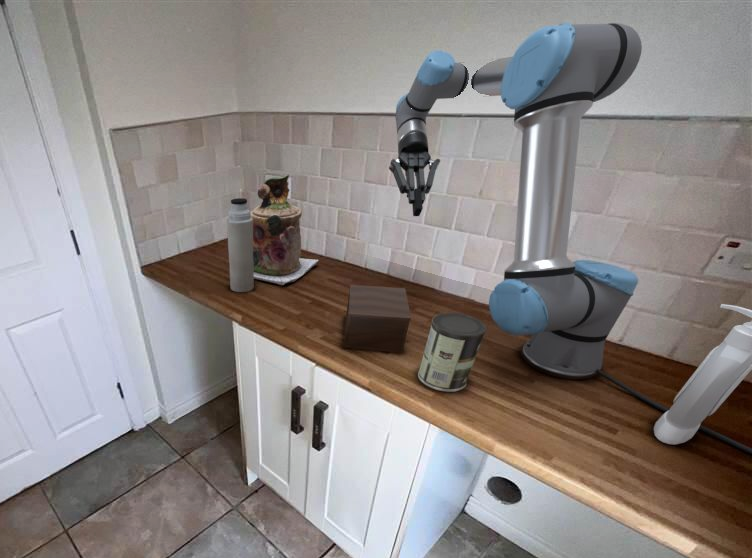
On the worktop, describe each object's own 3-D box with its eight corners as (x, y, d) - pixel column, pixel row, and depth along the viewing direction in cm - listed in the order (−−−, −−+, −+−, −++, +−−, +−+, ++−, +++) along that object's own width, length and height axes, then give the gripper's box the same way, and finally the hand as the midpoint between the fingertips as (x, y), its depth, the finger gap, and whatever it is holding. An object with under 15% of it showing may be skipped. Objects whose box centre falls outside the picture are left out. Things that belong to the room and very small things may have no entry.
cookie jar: (264, 255, 163) (264, 166, 144) (319, 265, 152) (327, 170, 132) (228, 275, 147) (223, 178, 128) (288, 288, 135) (292, 184, 116)
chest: (401, 353, 101) (410, 319, 95) (343, 347, 104) (348, 314, 98) (397, 322, 114) (404, 291, 108) (345, 318, 117) (349, 287, 111)
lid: (410, 321, 95) (411, 318, 94) (348, 316, 98) (348, 313, 97) (404, 290, 108) (405, 288, 108) (349, 287, 111) (350, 284, 111)
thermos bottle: (248, 281, 142) (246, 195, 125) (257, 289, 135) (256, 200, 119) (227, 285, 139) (222, 198, 123) (235, 293, 133) (231, 203, 117)
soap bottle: (650, 404, 82) (733, 292, 68) (701, 425, 77) (803, 308, 62) (625, 430, 76) (709, 314, 62) (678, 454, 71) (784, 334, 57)
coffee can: (460, 367, 95) (479, 313, 86) (471, 394, 87) (493, 337, 78) (414, 364, 97) (428, 310, 88) (420, 389, 89) (437, 333, 80)
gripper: (432, 155, 114) (438, 222, 106) (384, 155, 115) (387, 222, 107) (442, 130, 107) (450, 201, 99) (391, 131, 108) (395, 201, 100)
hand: (417, 212), depth 103 cm, fingers closed
